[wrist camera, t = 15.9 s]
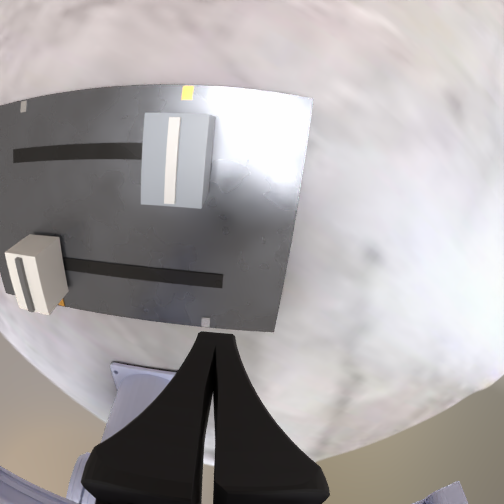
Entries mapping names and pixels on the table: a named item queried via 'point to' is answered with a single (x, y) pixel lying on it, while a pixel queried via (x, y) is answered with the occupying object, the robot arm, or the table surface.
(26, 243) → the block
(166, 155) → the fader
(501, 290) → the table surface
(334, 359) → the table surface
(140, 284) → the plate
